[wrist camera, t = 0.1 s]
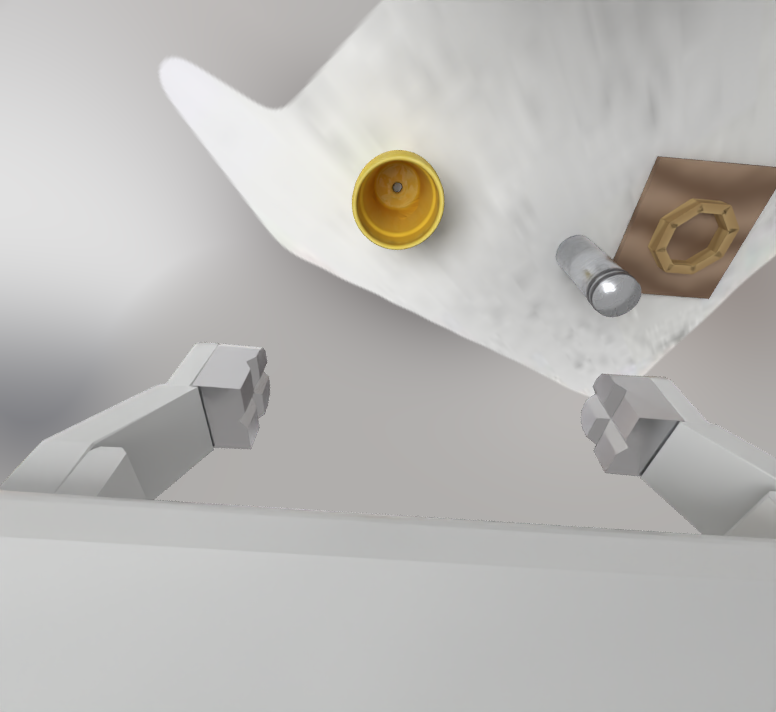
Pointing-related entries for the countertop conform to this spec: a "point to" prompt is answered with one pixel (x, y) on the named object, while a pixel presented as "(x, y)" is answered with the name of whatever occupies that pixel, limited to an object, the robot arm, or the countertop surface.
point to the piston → (598, 276)
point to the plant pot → (398, 200)
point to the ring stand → (692, 224)
